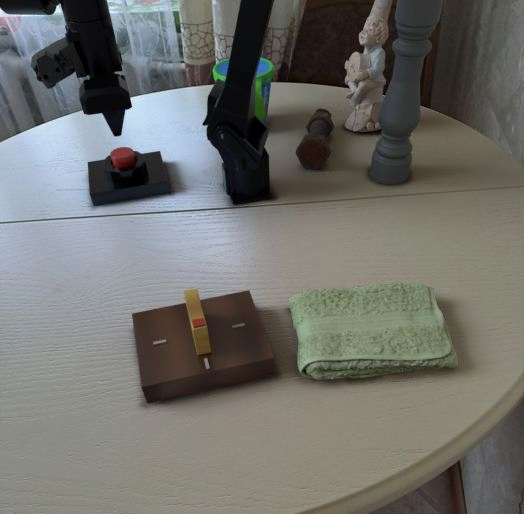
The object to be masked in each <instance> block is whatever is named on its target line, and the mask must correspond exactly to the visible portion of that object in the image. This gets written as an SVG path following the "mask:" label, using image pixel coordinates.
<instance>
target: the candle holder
mask: <svg viewBox="0 0 524 514" xmlns="http://www.w3.org/2000/svg"><path fill="white" fill-rule="evenodd" d="M443 6H444V0H397V1H396V7H395V12H394V21H395V28H396V30H397V36H398V37H397V38H396V39H395V40H394V41H393V42H392V46H391V50H392V52H394V55H395V59H394V63H393V70H392V77H391V78H390V82H389V84H388V87H387V90H386V93H385V95H384V97H385V98H384V100H383V103H382V105H381V108H380V110H379V116H378V121H379V125H380V128H381V129H380V130H381V135H382V136H380V137H379V139H378V140H377V141H376V142H375V147H374V150H373V151H372V154H371V155H372V157H371V162H370V169H369V176H370V178H371V179H372V180H373V181H375V182H377V183H379V184H381V185H382V184H383V185H391V186H394V185H401V184H402V183H404V182H406V181H407V180H408V179H409V175H410V170H411V166H412V161H413V154H412V151H413V144H412V142H411V139H410V137H411V136H412V133H413V132H414V131H415V130H416V129H417V127H418V126H419V124H420V121H421V117H422V115H421V76H422V71H423V66H424V61H425V57H427V55H428V54H429V53H430V52H432V49H433V44H432V42H431V41H430V40H429V38H430V37H431V35H432V33H433V31H435V29H436V27H437V24H438V23H439V22H440V20H441V14H442V10H443Z"/></svg>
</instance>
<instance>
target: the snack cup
mask: <svg viewBox="0 0 524 514" xmlns="http://www.w3.org/2000/svg"><path fill="white" fill-rule="evenodd" d="M229 59H230V57H229V58H226V59H222V60H220V61H218V62H217V63H215V65H214V66H213V68H212V74H213V79H214V83H215V82H216V80H217V78H218V79H220V80H222V81H224V82H225V80H226V75H227V70H228V64H229ZM274 76H275V67H274V63H273V62H272V61H270V60H269V59H267V58H264V57H261V58H260V62H259V66H258V70H257V75H256V82H255V84H256V104H255V115H256V116H257V117H258V118H259V119H260V120H261V121H262V122H263V123H264V124H265V125H266V126H267V121H268V115H269V104H270V97H271V87H272V81H273V78H274Z"/></svg>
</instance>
